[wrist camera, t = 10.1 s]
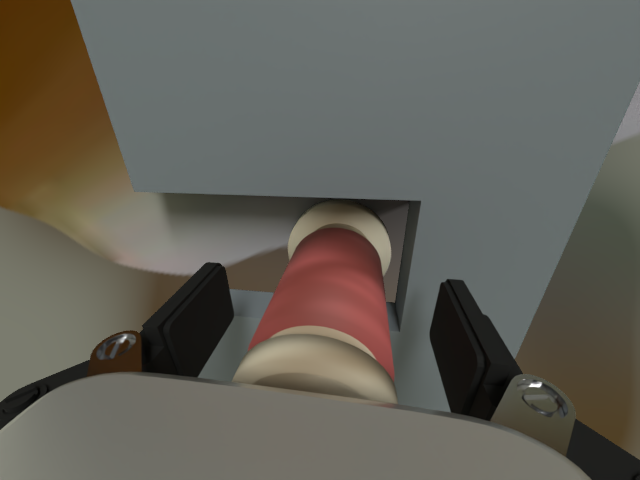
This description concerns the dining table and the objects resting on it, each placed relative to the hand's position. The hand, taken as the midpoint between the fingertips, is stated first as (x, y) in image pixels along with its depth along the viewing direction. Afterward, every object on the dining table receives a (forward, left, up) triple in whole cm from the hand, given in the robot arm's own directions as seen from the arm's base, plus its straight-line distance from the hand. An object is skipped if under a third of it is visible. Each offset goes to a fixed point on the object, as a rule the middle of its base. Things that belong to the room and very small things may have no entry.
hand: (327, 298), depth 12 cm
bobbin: (0, 0, -5) cm, 5 cm away
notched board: (0, 0, -5) cm, 5 cm away
